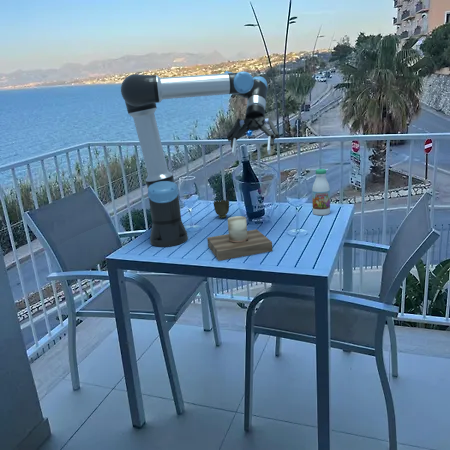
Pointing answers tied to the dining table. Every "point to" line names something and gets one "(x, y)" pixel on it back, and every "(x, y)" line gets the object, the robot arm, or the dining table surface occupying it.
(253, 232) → the walnut board
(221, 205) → the cup
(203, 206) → the dining table surface
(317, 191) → the milk bottle
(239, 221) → the ash peg
